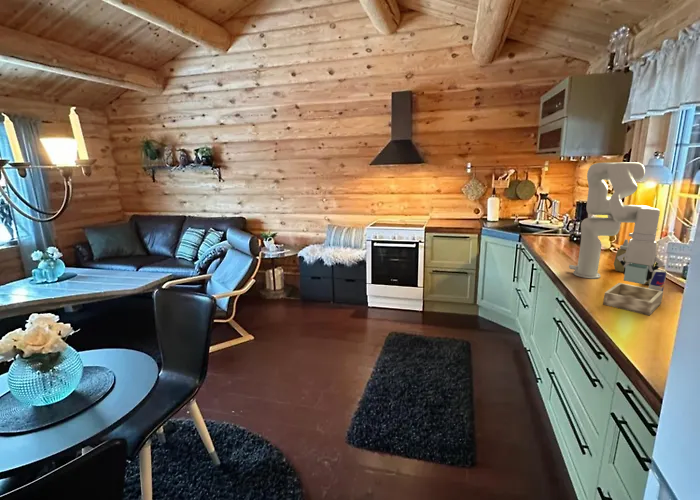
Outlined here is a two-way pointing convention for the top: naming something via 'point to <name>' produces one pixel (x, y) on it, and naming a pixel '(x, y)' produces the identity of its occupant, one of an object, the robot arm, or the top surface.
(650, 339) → the top surface
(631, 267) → the small crate
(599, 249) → the robot arm
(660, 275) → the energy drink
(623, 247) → the squeeze bottle
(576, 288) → the top surface
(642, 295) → the wooden crate
